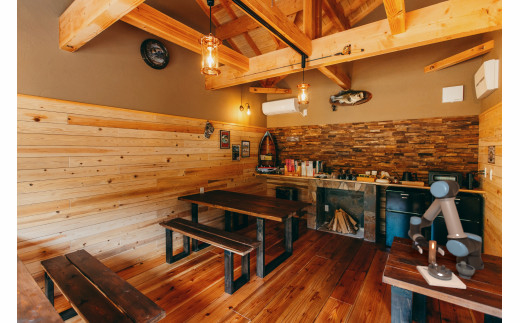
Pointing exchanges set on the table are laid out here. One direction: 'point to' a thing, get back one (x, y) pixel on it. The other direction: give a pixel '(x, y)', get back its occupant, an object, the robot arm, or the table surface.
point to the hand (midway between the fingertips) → (432, 252)
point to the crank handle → (435, 269)
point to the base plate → (454, 282)
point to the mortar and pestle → (465, 270)
